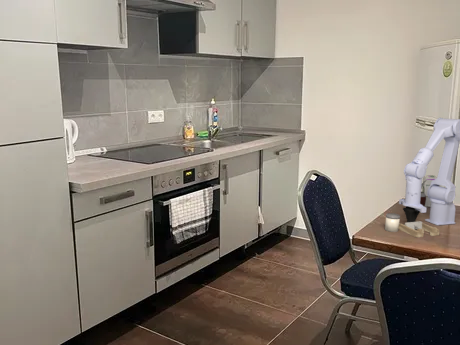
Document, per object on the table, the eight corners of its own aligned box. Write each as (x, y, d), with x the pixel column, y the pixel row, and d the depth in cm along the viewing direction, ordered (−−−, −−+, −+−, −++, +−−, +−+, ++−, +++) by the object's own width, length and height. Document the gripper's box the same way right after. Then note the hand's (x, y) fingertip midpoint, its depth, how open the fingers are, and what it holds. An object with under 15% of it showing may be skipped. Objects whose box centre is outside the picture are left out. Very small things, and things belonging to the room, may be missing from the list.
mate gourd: (412, 206, 222) (414, 175, 219) (429, 208, 217) (431, 177, 214) (406, 209, 217) (409, 178, 214) (424, 212, 212) (426, 180, 209)
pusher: (419, 227, 187) (420, 221, 186) (430, 232, 181) (431, 225, 180) (404, 229, 185) (405, 222, 184) (415, 234, 179) (415, 227, 178)
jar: (392, 227, 189) (393, 212, 187) (401, 231, 184) (403, 216, 183) (381, 228, 187) (383, 213, 185) (390, 232, 182) (392, 217, 181)
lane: (413, 224, 193) (414, 217, 192) (439, 235, 179) (439, 227, 178) (392, 226, 190) (392, 219, 190) (416, 237, 176) (416, 230, 175)
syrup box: (436, 207, 220) (438, 177, 217) (423, 206, 221) (425, 177, 218) (433, 204, 225) (435, 175, 223) (420, 203, 226) (423, 174, 224)
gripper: (393, 189, 190) (391, 220, 193) (416, 197, 176) (413, 231, 179) (408, 188, 192) (405, 219, 194) (432, 196, 178) (429, 229, 181)
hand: (410, 225), depth 187 cm, fingers closed
